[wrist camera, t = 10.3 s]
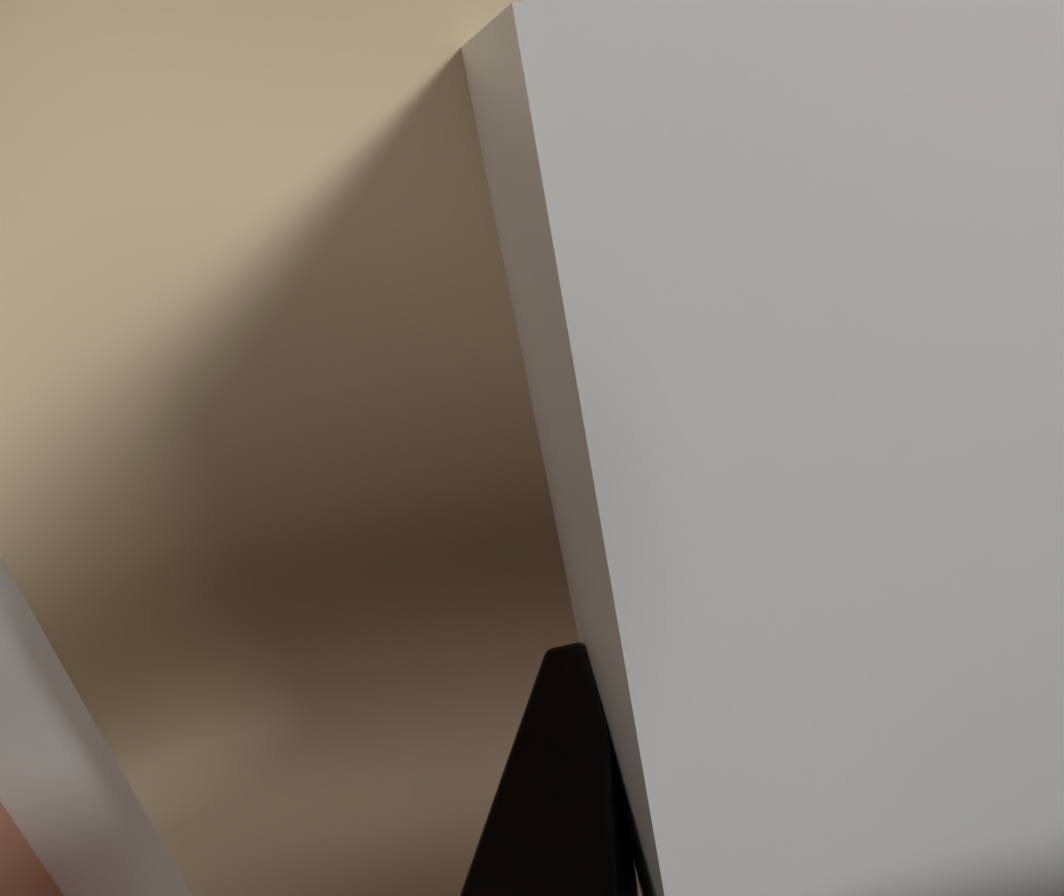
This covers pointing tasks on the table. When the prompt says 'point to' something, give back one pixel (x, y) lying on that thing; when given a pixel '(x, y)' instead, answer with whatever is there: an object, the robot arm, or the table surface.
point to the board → (272, 427)
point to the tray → (68, 773)
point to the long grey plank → (801, 421)
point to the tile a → (21, 864)
